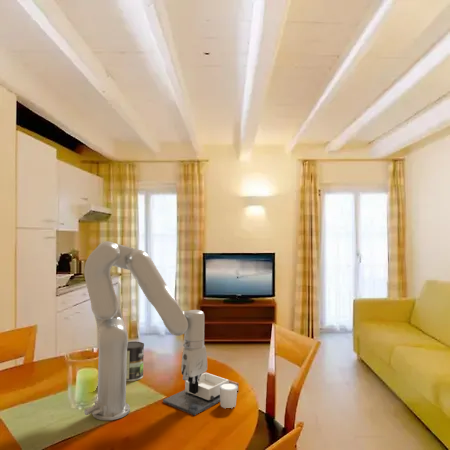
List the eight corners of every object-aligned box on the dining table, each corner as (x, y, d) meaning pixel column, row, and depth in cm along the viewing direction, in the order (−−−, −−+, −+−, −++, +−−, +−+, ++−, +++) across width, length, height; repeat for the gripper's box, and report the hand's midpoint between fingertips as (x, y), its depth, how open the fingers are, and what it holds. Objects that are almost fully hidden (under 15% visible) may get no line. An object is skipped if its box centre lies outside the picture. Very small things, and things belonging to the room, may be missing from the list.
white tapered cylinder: (215, 406, 138) (215, 387, 138) (224, 399, 144) (224, 381, 144) (232, 411, 135) (232, 391, 135) (240, 403, 141) (240, 384, 141)
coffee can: (145, 372, 170) (146, 341, 171) (140, 381, 160) (140, 348, 160) (123, 372, 170) (123, 340, 171) (116, 381, 160) (116, 347, 160)
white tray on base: (210, 401, 140) (210, 389, 140) (183, 391, 148) (184, 380, 148) (229, 390, 149) (230, 380, 149) (204, 382, 158) (204, 372, 158)
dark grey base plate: (194, 415, 131) (194, 405, 131) (163, 402, 141) (163, 392, 141) (238, 391, 152) (238, 383, 152) (208, 381, 161) (208, 373, 162)
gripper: (187, 350, 134) (186, 402, 134) (214, 341, 146) (213, 388, 146) (172, 346, 139) (172, 396, 139) (200, 337, 151) (199, 383, 150)
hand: (193, 392), depth 142 cm, fingers closed
